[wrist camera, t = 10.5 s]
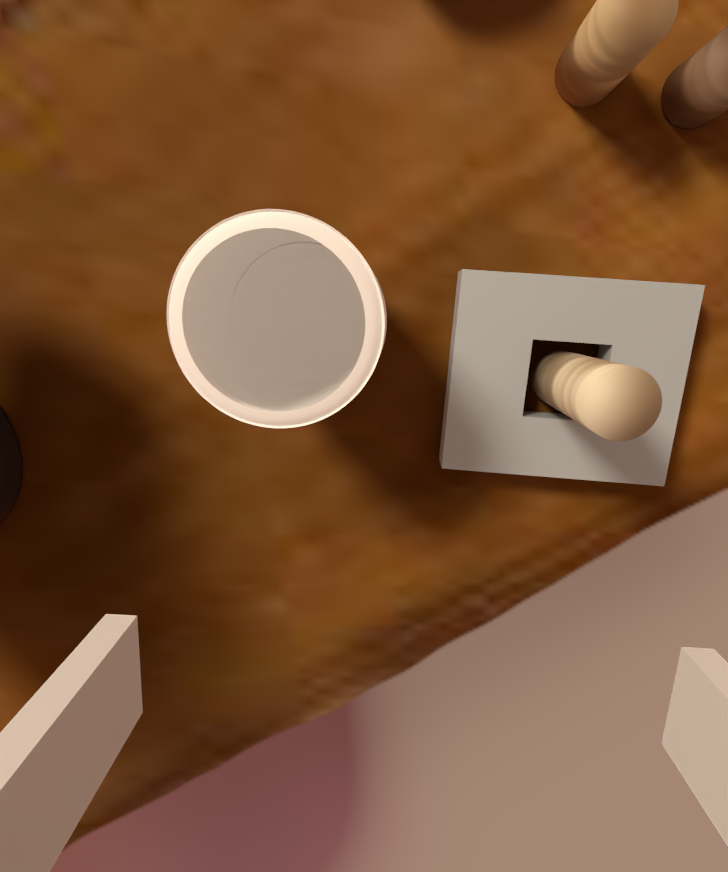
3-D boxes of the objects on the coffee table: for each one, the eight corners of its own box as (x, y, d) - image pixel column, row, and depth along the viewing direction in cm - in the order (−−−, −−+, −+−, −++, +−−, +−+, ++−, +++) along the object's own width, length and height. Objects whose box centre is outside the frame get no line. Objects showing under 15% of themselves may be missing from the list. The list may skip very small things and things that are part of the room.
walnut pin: (673, 140, 36) (721, 110, 31) (652, 79, 36) (698, 40, 31) (730, 111, 36) (788, 77, 31) (711, 50, 35) (767, 5, 30)
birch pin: (526, 401, 41) (578, 438, 29) (533, 348, 40) (590, 363, 28) (580, 405, 41) (654, 444, 29) (588, 352, 40) (668, 369, 28)
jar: (395, 251, 39) (394, 216, 24) (382, 394, 41) (374, 439, 27) (248, 239, 39) (162, 198, 25) (244, 381, 42) (163, 419, 27)
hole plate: (438, 459, 42) (441, 468, 40) (458, 271, 39) (462, 269, 37) (648, 476, 42) (664, 486, 39) (685, 286, 38) (705, 285, 36)
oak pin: (550, 105, 36) (592, 49, 29) (559, 37, 36) (605, -40, 28) (611, 108, 36) (670, 53, 28) (621, 40, 35) (685, -36, 28)
